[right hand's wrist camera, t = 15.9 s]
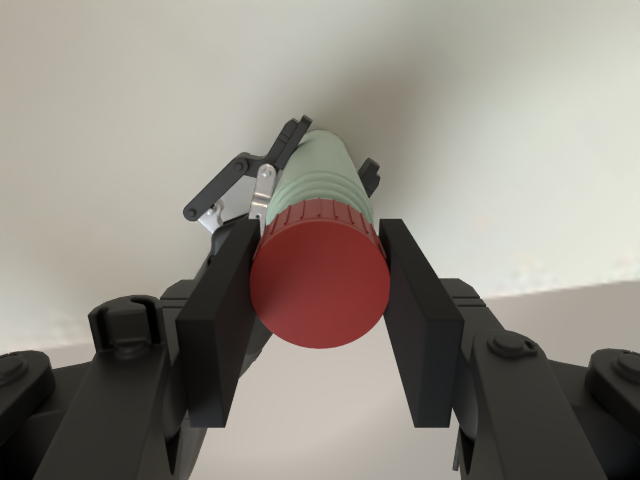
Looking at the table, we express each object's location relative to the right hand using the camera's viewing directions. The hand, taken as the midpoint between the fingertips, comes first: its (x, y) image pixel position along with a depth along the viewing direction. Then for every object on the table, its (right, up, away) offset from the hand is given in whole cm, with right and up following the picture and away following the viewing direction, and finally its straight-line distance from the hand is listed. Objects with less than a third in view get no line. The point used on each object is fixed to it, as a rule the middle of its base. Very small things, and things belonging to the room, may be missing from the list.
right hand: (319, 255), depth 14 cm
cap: (0, -1, -2) cm, 2 cm away
